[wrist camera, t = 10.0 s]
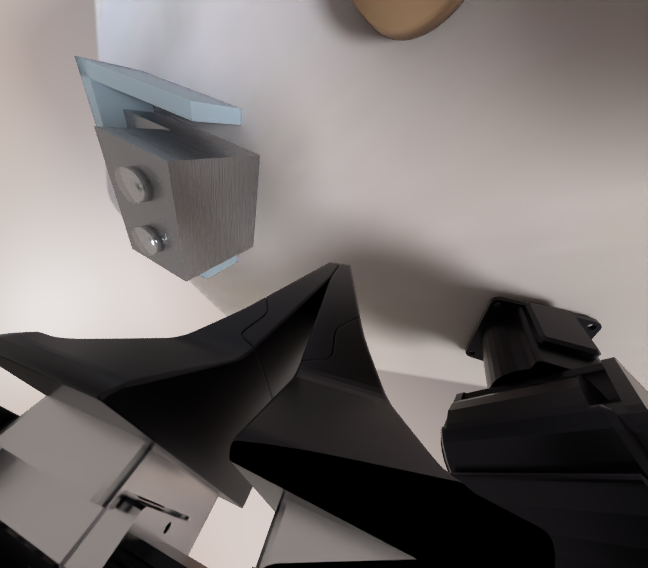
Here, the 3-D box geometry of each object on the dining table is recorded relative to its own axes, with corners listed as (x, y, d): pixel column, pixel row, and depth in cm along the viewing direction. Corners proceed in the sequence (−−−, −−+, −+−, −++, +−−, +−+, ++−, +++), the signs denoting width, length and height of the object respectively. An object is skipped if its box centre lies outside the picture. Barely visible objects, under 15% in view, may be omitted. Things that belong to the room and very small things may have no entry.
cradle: (241, 108, 20) (190, 100, 16) (237, 261, 30) (206, 279, 26) (139, 70, 22) (74, 55, 19) (167, 222, 32) (129, 233, 29)
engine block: (260, 155, 21) (154, 162, 14) (253, 246, 27) (178, 285, 20) (160, 112, 24) (25, 99, 16) (174, 204, 30) (81, 225, 22)
